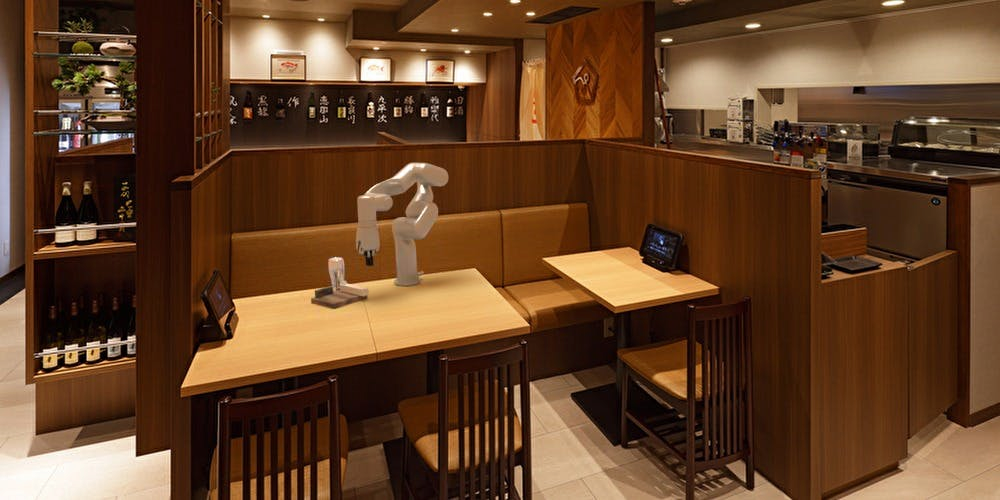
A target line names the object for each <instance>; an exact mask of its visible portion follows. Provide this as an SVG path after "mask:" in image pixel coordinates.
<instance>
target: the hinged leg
mask: <svg viewBox="0 0 1000 500" xmlns="http://www.w3.org/2000/svg"><path fill="white" fill-rule="evenodd" d="M340 291H342V292H346V293H351V294H355V295H359V296H366V295H367V296H368V295H369V288H368V287H365V286H359V285H356V284H350V283H348V282H347V280H344V281H342V284H340Z"/></svg>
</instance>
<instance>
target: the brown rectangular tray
mask: <svg viewBox="0 0 1000 500" xmlns="http://www.w3.org/2000/svg"><path fill="white" fill-rule="evenodd" d="M365 299H368V295H366V296H359V295H355V294H351V293H346V292H342V291H340V290H337V291H334V292H333V287H332V285H329V286H326V287H325V286H324V287H322V288H319V289H316V290H315V289H314V297H311V298H310V300H311V301H310V302H311V304H314V305H318V306H322V307H326V308H330V309H334V310H335V309H337V308H341V307H344V306H346V305H349V304H353V303H356V302H358V301H362V300H365Z"/></svg>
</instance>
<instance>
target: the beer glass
mask: <svg viewBox="0 0 1000 500" xmlns="http://www.w3.org/2000/svg"><path fill="white" fill-rule="evenodd" d="M327 261H328V262H327V263H328V273H329V278H330V279H331V281H330V282H331V287H333V292H334V291H337V290H340V284H342V281H345V269H346V268H345V261H344V258H343V257H341V256H340V257H339V256H337V257H336V256H335V257H330V258H328V260H327Z"/></svg>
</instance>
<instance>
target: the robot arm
mask: <svg viewBox="0 0 1000 500" xmlns="http://www.w3.org/2000/svg"><path fill="white" fill-rule="evenodd" d="M448 182H449V174H448V171H447V170H446V169H445V168H442V167H439V166H437V165H434V164H430V163H427V162H410V163H408V164H406V165H405V166H404V167H403V168H401V169H400V170H399V171H398V172H397V173H396V174H395V175H393V176H392V177H391V178H389V179H386V180H384V181H381V182H379V183H377V184H375V185H374V186H372V187H371V188H370V189H369V190H367V191H366V192H365V193H364V194H363V195H359V196H357V218H358V227H357V229H356V237H355V248H356V250H357V251H358V254H359V255H363V257H364V258H365V266H367V267H372V266H374V257H375V254H376V252H378V251H380V245H381V242H380V241H381V240H380V232H379V228H378V226H377V224H378V219H377V212H386V211H389V210H390V209H392V206H393V204H394V201H393V198H392V196H397V195H400V194H404V193H405V192H406V191H407V190H408V189H409V188H411V187H412V186H413V185H414V184H415V183H416V185H417V190H416V193H415V195H414V197H412V199H411V201H410V202H409V204H408V205H407V207H406V209H405V215H406V216H405V217H404V216H403V217H402V216H401V217H397V218H395V219H394V220H393V222H392V224H391V231H392V234H393V240H394V246H395V248H394V249H395V262H396V263H395V265H396V266H395V267H396V279H395V280H393V284H394V285H396V286H400V287H411V286H416V285H419V284H420V283H421V282H422V280H421V278H420V277H421V276H423V275H424V274H425V273H424V271H423V270H422V271H418V267H417V266H418V264H417V250H416V249H417V247H416V243H415V240H421V239H424V238H425V237H427V234H428V233H429V231H430V230H431V229H432V227H433V225H434V224H435V222H436V221H437V219H438V216H439V209H438V206H437V203H434V201H433V200H434V193H433V190H432V187H443V186H445V185H446V184H447V183H448Z"/></svg>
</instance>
